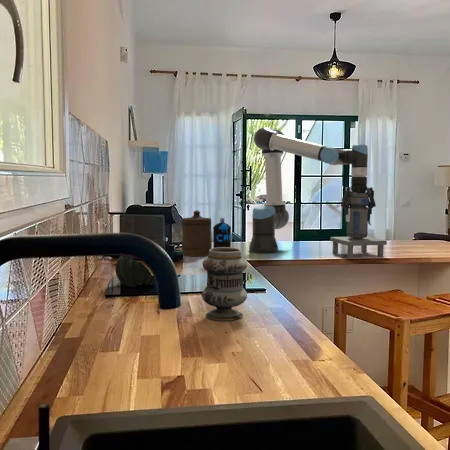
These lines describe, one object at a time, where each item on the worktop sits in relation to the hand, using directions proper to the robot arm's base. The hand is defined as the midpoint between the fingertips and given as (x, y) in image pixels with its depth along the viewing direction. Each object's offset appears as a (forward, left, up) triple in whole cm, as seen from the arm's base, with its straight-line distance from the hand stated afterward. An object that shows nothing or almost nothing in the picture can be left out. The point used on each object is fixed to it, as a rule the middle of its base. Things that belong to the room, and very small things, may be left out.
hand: (357, 221), depth 239 cm
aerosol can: (-71, -9, -17) cm, 73 cm away
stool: (0, 0, -17) cm, 17 cm away
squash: (-110, -50, -17) cm, 122 cm away
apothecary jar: (-89, -95, -17) cm, 131 cm away
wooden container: (-78, +18, -17) cm, 82 cm away
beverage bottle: (+1, 0, -8) cm, 8 cm away
